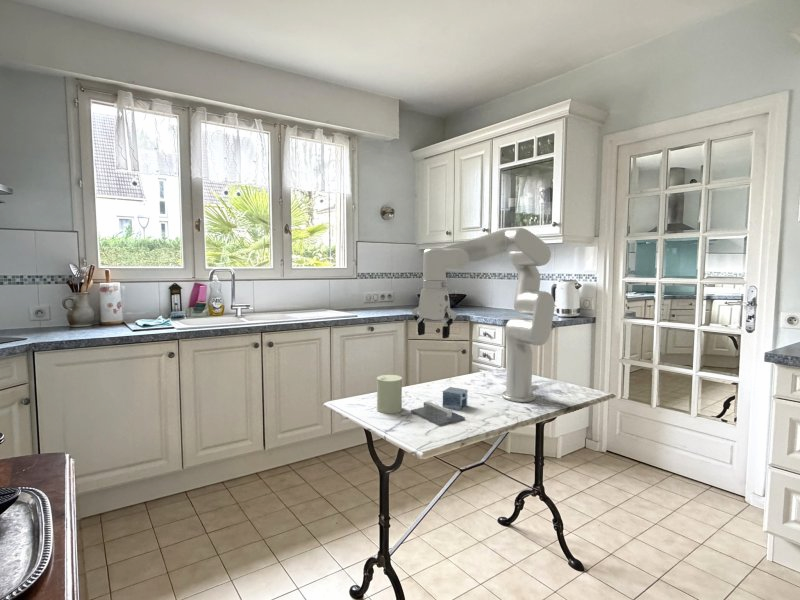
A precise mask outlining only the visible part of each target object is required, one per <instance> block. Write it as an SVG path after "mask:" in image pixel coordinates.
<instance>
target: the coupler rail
mask: <svg viewBox="0 0 800 600" xmlns="http://www.w3.org/2000/svg"><path fill="white" fill-rule="evenodd" d="M410 413H411V414H414V415H416V416H418V417H420V418H422V419H424V420H426V421H428V422H429V423H432V424H435V425H436V426H438V427H441V426H445V425H449V424H452V423H456V422H461V421H465V420H466V419H465V418H466V417H465V416H463V415H460V414H458V413H456V412H453V411H452V410H449V409H448V408H445V407H443V406H440V405H437V404H435V403H433V402H431V401H425V402H423V407H419V408H415V409H414V408H413V409H411V410H410Z"/></svg>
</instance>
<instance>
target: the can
mask: <svg viewBox="0 0 800 600" xmlns="http://www.w3.org/2000/svg"><path fill="white" fill-rule="evenodd" d="M402 390H403V377H402V376H400V375H398V374H381V375H378V376H377V377H376V411H377V412H380V413H383V414H395V413H399V412H401V411H402V410H403V404H402V402H403V400H402V399H403V393H402V392H403V391H402Z"/></svg>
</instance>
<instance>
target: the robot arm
mask: <svg viewBox="0 0 800 600" xmlns="http://www.w3.org/2000/svg"><path fill="white" fill-rule="evenodd" d="M506 253H508V258H509V261H510V262H511V263H512V265H513V266H514V269H515V270H516V272H517V284H516V289H515V290H516V291H515V294H514V295H515V296H514V301H513V308H514V310H515V311H516V312H517V313H518V314H522V315H526V316H532V318H528V317H520V316H515V317H512V318H509V320H508V321H507V322H506V324H505V328H504V332H505V339H506V348H507V349H506V351H507V354H506V356H507V357H506V387H505V389H506V390H504V391H503V392H502V393H501V395H502V398H503V399H505V400H508V401H512V402H517V403H527V402H528V403H529V402H533V401H534V400H536V395H535V394H534V393H533V392H534V391H538V390H539V385H537V384H535V385H532V382H533V381H532V380H533V350H532V347H531V345H533V346H537V347H539V346H544V345H545V344H546V343H547V342H549V338H550V335H551V331H552V325H553V320H554V315H555V308H556V305H555V304H556V303H555V299H554V296H553V295H552V294H551V293H550V292H548V291H545V290H544V291H543V290H540V287H541V274H540V271H539V269H538V267H542V266H545V265H547V264H549V262H550V260H551V257H552V254H551V253H552V251H551V249H550V247H549V246H548V244H547V243H546V242H545V241H543V240H542V239H541V238H539V237H538V236H537V235H535V234H534V233H533V232H532V231H530V230H528V229H526V228H524V227H513V228H512V227H511V228H503V229H500V230H499V229H498V230H497V231H494V232H491V233H488V234H485V235H482V236H479V237H475V238H472V239H468V240H464V241H460V242H456V243H453V244H450V245H447V246H443V247H440V248H426V249H424V250H423V259H422V261H423V262H422V263H423V265H422V268H423V269H422V271H423V272H422V289H421V290H420V295H419V302H418V306H417V307H415V308H413V309H411V312H412V315H413V319H414V321H416V322H415V323H416V324H417V335H418V336H423V335H425V334H426V323H425V321H426V320H432V321H434V320H435V321H441V323H442V324H443V325H442V333H441V334H442V336H441V337H442V339H448V338H449V337H450V335H451V333H450V330H451V329H450V328H451V326H452V325H453V323H454V322H455V320H456V318H457V316H458V313H457V312H456V311H454V310H452V309H451V303H450V296H449V290H448V289H446V288H447V287H449V282H447V281H446V277H447V276H446V273H447V272H446V271H451V272H453V271H454V272H458V271H462V270H464V269H466V268H467V266H468V265H469V263H471V262H473V263H474V262H483V261H487V260H490V259H492V258H494V257H497V256H500V255H501V256H502V255H504V254H506Z"/></svg>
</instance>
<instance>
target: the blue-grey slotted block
mask: <svg viewBox="0 0 800 600" xmlns="http://www.w3.org/2000/svg"><path fill="white" fill-rule="evenodd" d="M468 391H469V390H468V389H465V388H459V387H452V386H450V387H447V388H446V389H444V390H442V408H445V409H451V410H456V411H462V409H463V407H467V406H468Z"/></svg>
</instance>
